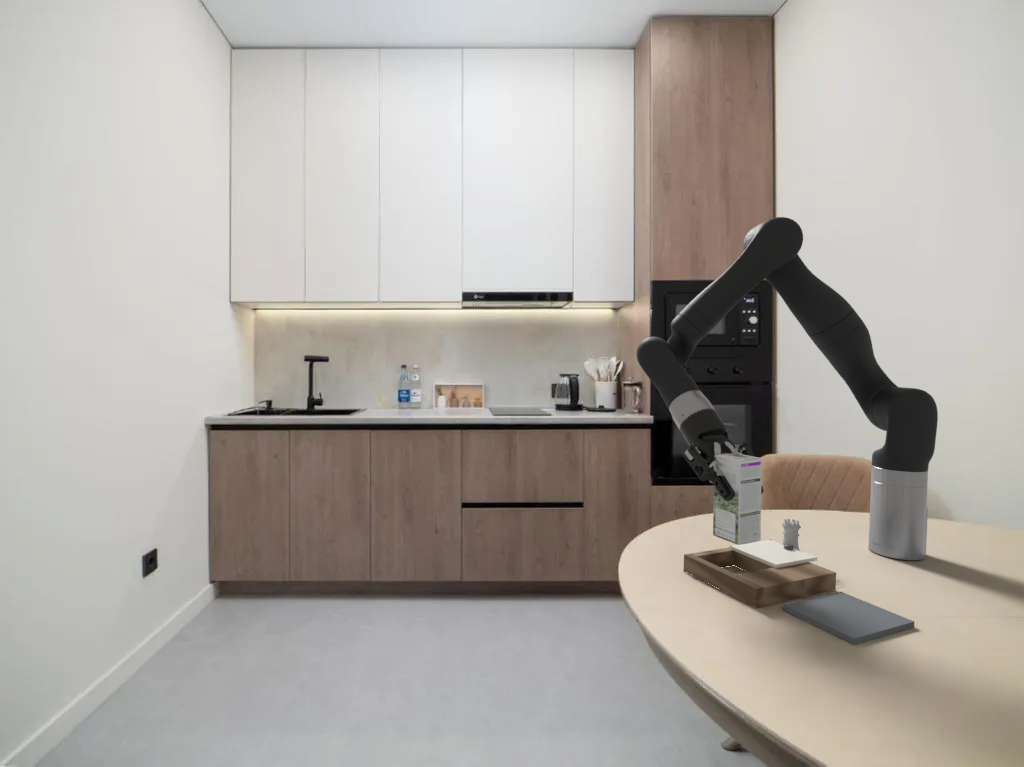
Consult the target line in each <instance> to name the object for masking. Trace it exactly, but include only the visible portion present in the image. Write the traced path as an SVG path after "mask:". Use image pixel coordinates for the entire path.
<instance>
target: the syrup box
mask: <svg viewBox="0 0 1024 767" xmlns="http://www.w3.org/2000/svg"><path fill="white" fill-rule="evenodd" d="M714 457H715V455H714ZM716 458H717V460H718V462H719V464H718V465H719V467H720V469H721V471H722V474H723V475H722V476H725V478H726V479H727V481H728V482H729V484H730V486H731V487H732V489H733V490H734V492H735V496H734V497H733V498H732V499H731V500H730V501H725V500H724V498H722V497H721V496H720V494H719V492H718V490H717V489H716V487H715V486H714V485H713V511H712V512H713V513H712V514H713V517H712V518H713V521H712V522H713V523H712V524H713V525H712V526H713V527H712V535H713V536H714V537H716V538H719V539H722V540H723V541H727V542H730V543H732V544H735V545H741V544H748V543H753V542H760V541H762V540H761V539H762V533H761V532H762V530H761V528H762V527H761V525H762V524H761V523H762V522H761V521H762V494H761V485H762V480H763V479H762V478H763V476H762V475H763V473H762V472H763V460H762V457H756V456H755V457H753V456H747V455H742V454H737V453H725V454H721V455H718V456H716Z"/></svg>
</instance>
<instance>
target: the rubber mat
mask: <svg viewBox="0 0 1024 767" xmlns="http://www.w3.org/2000/svg"><path fill="white" fill-rule="evenodd" d="M783 611H784V612H787V613H788V614H791V615H793V616H795V617H797V618H799V619H801V620H803V621H806V622H807V623H810V624H812V625H813V626H815V627H818V628H820V629H821V630H824V631H826V632H828V633H829V634H832V635H834V636H836V637H839V638H840V639H842V640H843V641H846V642H848V643H850V644H853V645H856V644H857V645H858V644H860V643H864V642H867V641H870V640H874V639H877V638H882V637H884V636H889V635H892V634H896V633H898V632H901V631H905V630H908V629H909V630H910V629H912V628H915V621H914V620H911V619H909V618H907V617H904V616H902V615H899V614H897V613H895V612H892V611H890V610H887V609H885V608H882V607H880V606H877V605H875V604H873V603H870V602H869V601H865V600H862V599H861V598H858V597H855V596H852V595H850V594H847V593H845V592H843V591H839V592H833V593H829V594H826V595H825V594H824V595H820V596H816V597H811V598H806V599H803V600H798V601H793V602H790V603H786V604H783Z"/></svg>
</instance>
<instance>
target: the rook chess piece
mask: <svg viewBox="0 0 1024 767" xmlns="http://www.w3.org/2000/svg"><path fill="white" fill-rule="evenodd" d="M781 526H782V528H783V531H782V534H783V540H782V543H781V544H782V545H784V544H790V545H793V549H796V550H799V551H801V550H800V548H799V536H800V533H799V530H800V529H801V528H802V527H801V525H800V521H799V520H796V519H792V520H791V519H790V518H787V519H783V523H781Z"/></svg>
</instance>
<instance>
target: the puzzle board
mask: <svg viewBox="0 0 1024 767" xmlns="http://www.w3.org/2000/svg"><path fill="white" fill-rule="evenodd" d="M732 565H735V566H737V567H739V568H741V569H743V570H742V571H744V570H745V571H744V572H742V573H734V572H731V571H729V570H727V569H726V568H727V567H726V566H732ZM735 566H734V567H735ZM721 567H726V568H721ZM732 567H733V566H732ZM737 567H736V568H737ZM739 568H738V569H739ZM741 569H740V570H741ZM684 571H686V572H688V573H689V575H690V574H692V575H693V577H694V576H695V577H694V578H696V577H697V578H696V579H698V578H699V579H698V580H700V579H701V581H702V580H703V581H702V582H704V581H705V582H704V583H706V582H707V583H706V584H708V583H709V584H708V585H710V584H711V585H710V586H712V585H713V586H712V587H714V586H715V587H717V588H719V589H720V590H719V589H718V590H719V591H721V590H722V591H721V592H723V591H724V592H723V593H725V592H726V593H725V594H727V593H728V594H727V595H730V596H731V595H732V596H731V597H734V598H736V599H737V600H739V601H740V602H743V603H745V604H747V605H748V606H751V607H752V608H754V609H757V608H758V609H759V608H762V607H763V608H764V607H767V606H771V605H777V604H782V603H786V602H788V601H789V602H790V601H794V600H798V599H803V598H807V597H812V596H818V595H820V594H826V593H829V592H835V591H836V589H837V588H836V586H837V572H836V571H834V570H831V569H828V568H825V567H823V566H820V565H818V564H815V563H813V562H806V563H801V564H796V565H790V566H785V567H780V568H774V567H772V566H769V565H767V564H765V563H762V562H760V561H757V560H755V559H753V558H750V557H748V556H745V555H743V554H740V553H738V552H736V551H733V550H731V549H730V546H729V547H723V548H715V549H710V550H704V551H698V552H693V553H686V554H684V555H683V572H684ZM746 571H747V572H746ZM686 572H685V573H686ZM688 573H687V574H688ZM692 575H691V576H692ZM715 587H714V588H715ZM717 588H716V589H717Z"/></svg>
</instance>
